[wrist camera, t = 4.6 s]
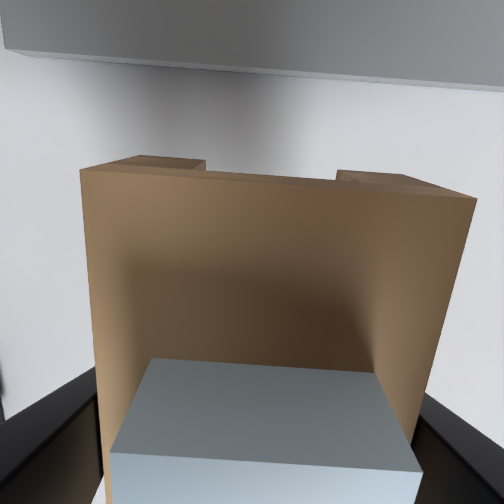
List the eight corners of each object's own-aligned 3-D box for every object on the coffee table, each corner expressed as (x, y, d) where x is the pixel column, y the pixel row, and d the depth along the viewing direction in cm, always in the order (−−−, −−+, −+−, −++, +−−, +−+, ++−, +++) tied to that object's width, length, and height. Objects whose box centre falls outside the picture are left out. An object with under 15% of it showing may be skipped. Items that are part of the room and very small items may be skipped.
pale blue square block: (154, 517, 8) (121, 642, 6) (151, 357, 6) (109, 452, 5) (340, 529, 8) (367, 656, 6) (375, 372, 7) (422, 472, 5)
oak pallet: (148, 481, 12) (113, 597, 9) (139, 155, 8) (78, 169, 5) (338, 493, 12) (365, 612, 9) (402, 174, 8) (478, 198, 6)
